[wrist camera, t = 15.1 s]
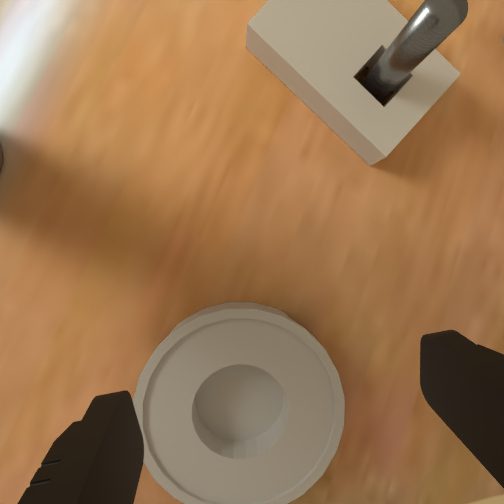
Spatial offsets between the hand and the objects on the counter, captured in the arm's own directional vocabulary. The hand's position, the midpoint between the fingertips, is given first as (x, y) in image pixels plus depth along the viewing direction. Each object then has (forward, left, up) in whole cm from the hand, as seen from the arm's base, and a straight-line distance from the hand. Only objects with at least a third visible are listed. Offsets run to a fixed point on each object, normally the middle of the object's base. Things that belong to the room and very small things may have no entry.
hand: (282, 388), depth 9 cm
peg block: (-8, +25, -29) cm, 39 cm away
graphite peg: (-4, +25, -29) cm, 39 cm away
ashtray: (+9, -12, -29) cm, 33 cm away
